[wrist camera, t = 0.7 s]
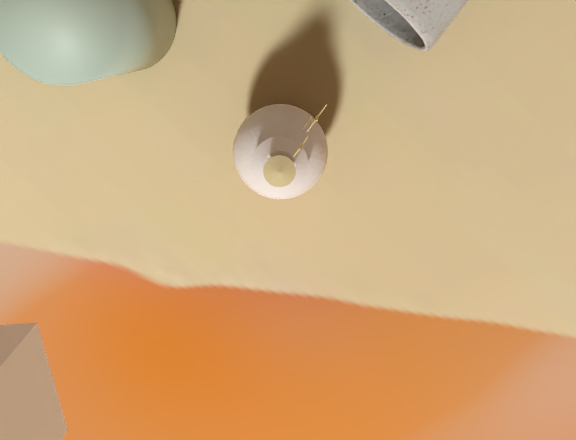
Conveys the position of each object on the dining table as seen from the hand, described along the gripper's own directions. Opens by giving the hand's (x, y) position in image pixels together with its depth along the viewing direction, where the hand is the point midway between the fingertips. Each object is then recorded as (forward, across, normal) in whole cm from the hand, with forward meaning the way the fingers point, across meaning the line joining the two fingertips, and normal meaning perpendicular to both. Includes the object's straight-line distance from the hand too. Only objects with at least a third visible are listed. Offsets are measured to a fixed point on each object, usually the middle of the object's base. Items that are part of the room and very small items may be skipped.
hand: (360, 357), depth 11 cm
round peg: (+27, -11, +8) cm, 30 cm away
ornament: (+27, -2, -1) cm, 27 cm away
